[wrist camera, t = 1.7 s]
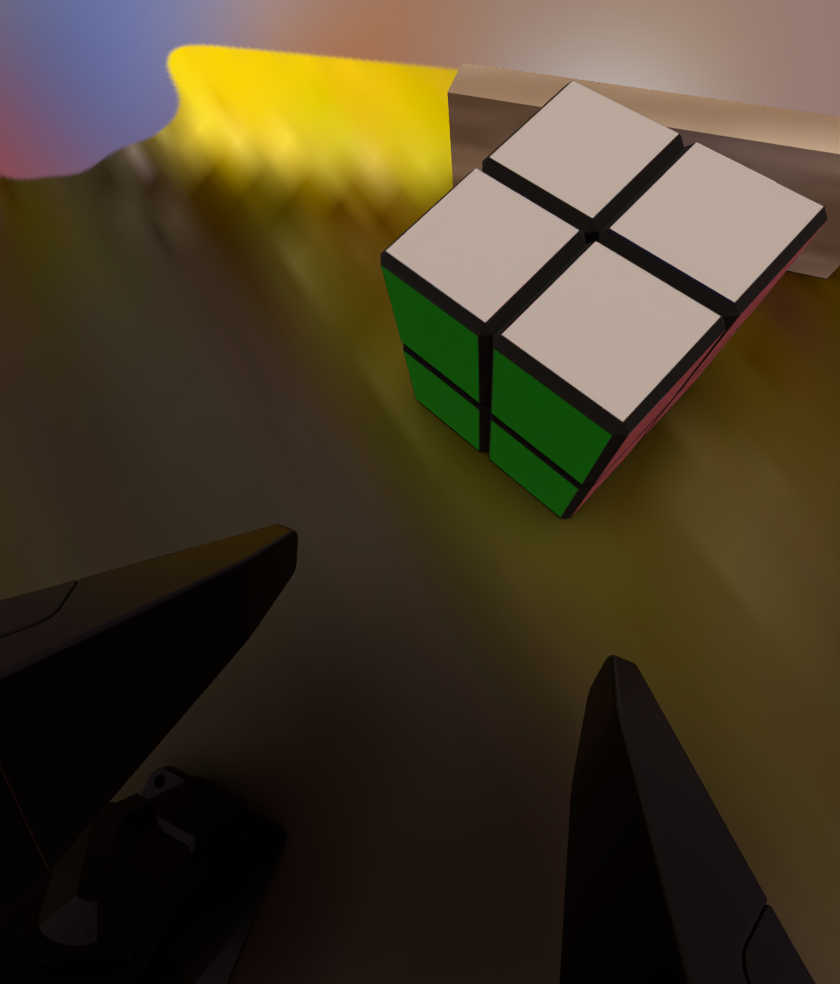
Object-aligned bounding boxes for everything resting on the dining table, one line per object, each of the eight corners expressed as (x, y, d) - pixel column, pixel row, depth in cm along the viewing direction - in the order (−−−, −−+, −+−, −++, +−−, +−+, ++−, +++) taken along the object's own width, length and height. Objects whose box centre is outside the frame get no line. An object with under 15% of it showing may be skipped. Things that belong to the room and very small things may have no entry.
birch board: (826, 278, 24) (931, 168, 19) (454, 201, 29) (447, 92, 23) (833, 247, 25) (937, 131, 19) (465, 175, 29) (462, 62, 24)
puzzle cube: (698, 377, 24) (842, 203, 14) (565, 524, 23) (626, 439, 13) (538, 273, 27) (570, 70, 17) (412, 397, 25) (371, 252, 16)
